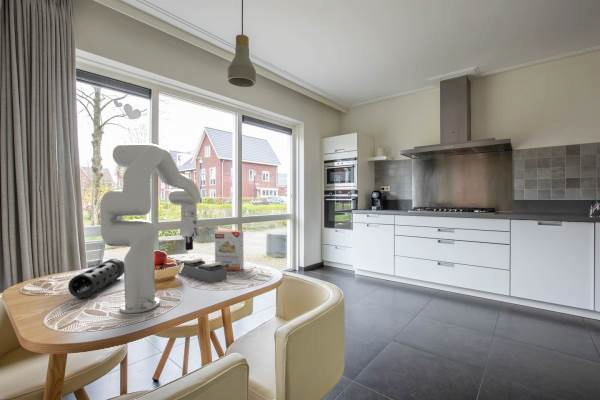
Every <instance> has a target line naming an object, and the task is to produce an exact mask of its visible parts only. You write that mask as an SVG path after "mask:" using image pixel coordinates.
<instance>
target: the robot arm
mask: <svg viewBox="0 0 600 400" xmlns="http://www.w3.org/2000/svg"><path fill="white" fill-rule="evenodd" d="M113 148H114V149H113V150H112V158H113V159H112V160H113V161H114V162H115V163H116V164H117V165H118V166H120V167H123V168H126V169H125V171H124V173H123V177H122V189H112V190H108V191H106V192H105V193H104V194H103V195H102V197H101V200H100V204H99V214H100V216H99V217H100V232H101V233H100V234H101V238H102V242H103V243H104V244H105V245H106V246H109V247H129V250H128V252H127V253H126V255H125V257H124V260H123V262H124V273H123V275H124V277H123V278H124V280H123V281H124V303H122V304H121V305H120V306H119V311H120V312H121V313H124V314H139V313H143V312H147V311H150V310H153V309H156V308H157V307H158V306H160V303H161V301H160V298H158V297H156V289H155V288H156V285H155V284H156V282H155V281H156V280H155V279H156V278H155V247H156V245H155V244H156V241H157V235H158V230H157V226H156V224H155V223H154V222H153V221H150V220H146V219H123V218H124V217H143V216H146V215H148V214H149V213H150V212H151V209H152V208H151V207H152V195H151V194H152V193H151V179H152V174H153V172H154V171H155V173H156V174H157V176H158V178H159V179H160V181H161V182H162V183H163V184H164V185H167V186H170V187H173V188H177V189H174V190H171V191H170V192H169V194H168V201H169V202H170V204H172V205H175V206H180V226H179V227H180V230H179V231H180V235H181V237H182V239H184V243H185V250H186V251H192V250H194V241H195V240H196V239H197V237H198V236H199V235H200V225H199V219H198V216H197V215H198V214H197V213H198V212H197V211H198V209H197V205H198V204H199V203H200V202H201V197H202V196H201V192H200V189H199V188H198V185H197V183H196V182H195V181H194V180H192V179H191V178H190V177H188V176H187V175H186V174H183V173H181V172H180V170H179V168H178V165H177V164H176V162H175V160H174V158H173V156H172V154H171V152H170V151H169V150H168V149H167V148H165V147H161V146H160V145H157V144H155V143H154V144H153V143H126V144H125V143H121V144H117V145H116V146H115V147H113Z"/></svg>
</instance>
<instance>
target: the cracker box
mask: <svg viewBox="0 0 600 400" xmlns="http://www.w3.org/2000/svg"><path fill="white" fill-rule="evenodd" d="M214 260H215V261H214V262H220V264H219V265H223V267H225V268H226V271H230V270H235V272H240V271H242V270H243V269H244V230H228V229H225V230H224V229H223V230H222V229H219V230H216V231H214ZM241 269H242V270H241Z"/></svg>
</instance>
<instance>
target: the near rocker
mask: <svg viewBox="0 0 600 400" xmlns="http://www.w3.org/2000/svg"><path fill="white" fill-rule="evenodd" d="M219 264H220V262H215V261H214V262H211V261H210V262H205V264H201V266H204V267H208V268H209V267H213V266H215V265H219Z"/></svg>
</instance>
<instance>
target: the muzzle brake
mask: <svg viewBox="0 0 600 400" xmlns="http://www.w3.org/2000/svg"><path fill="white" fill-rule="evenodd" d="M123 275H124V260H121V259H119V258H111V259H108V260H106V261H104V262H103V263H101V264H98V265H97V266H95V267H92V268H91V269H89V270H85V271H83V272H82V273H80V274H77V275H75V276H74V277H72V278H71V279H70V280H69V283H68V291H69V293H70V294H71V295H72V296H73V297H75V298H78V299H80V300H85V299H87V298H89V297H90V296H92V295H93V294H95V293H97V292H98V291H99V290H101V289H102V288H103V287H105V286H109V285H111V284H112V282H113V281H115V280H118V279H119V278H120V277H122V276H123Z"/></svg>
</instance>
